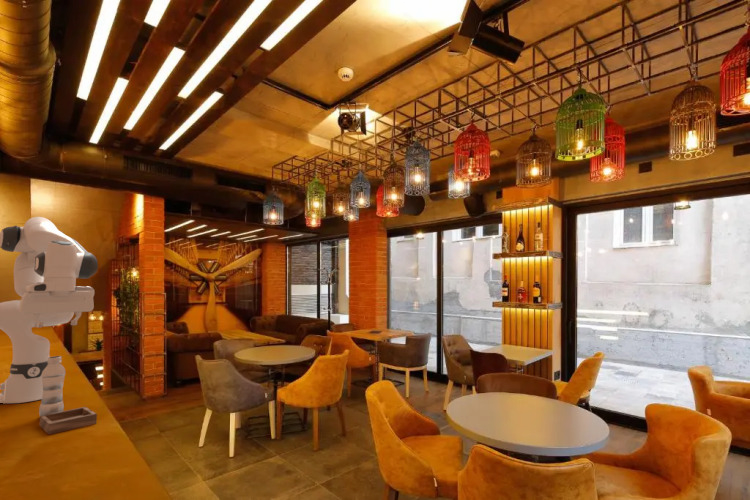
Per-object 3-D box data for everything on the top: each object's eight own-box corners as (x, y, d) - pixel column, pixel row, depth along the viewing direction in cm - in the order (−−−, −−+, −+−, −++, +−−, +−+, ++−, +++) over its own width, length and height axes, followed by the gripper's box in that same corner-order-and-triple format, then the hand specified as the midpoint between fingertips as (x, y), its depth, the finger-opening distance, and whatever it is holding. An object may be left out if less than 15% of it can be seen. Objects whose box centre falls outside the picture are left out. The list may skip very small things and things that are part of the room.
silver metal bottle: (49, 420, 128) (53, 359, 130) (33, 419, 130) (37, 358, 132) (68, 414, 135) (72, 355, 137) (52, 413, 136) (56, 355, 138)
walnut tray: (39, 425, 124) (40, 416, 124) (84, 415, 133) (85, 406, 133) (48, 434, 116) (49, 424, 117) (96, 423, 126) (96, 413, 126)
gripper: (92, 286, 146) (89, 323, 145) (19, 286, 130) (16, 328, 129) (97, 286, 142) (95, 324, 141) (23, 286, 127) (20, 329, 125)
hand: (57, 326), depth 135 cm, fingers open, 8 cm apart
